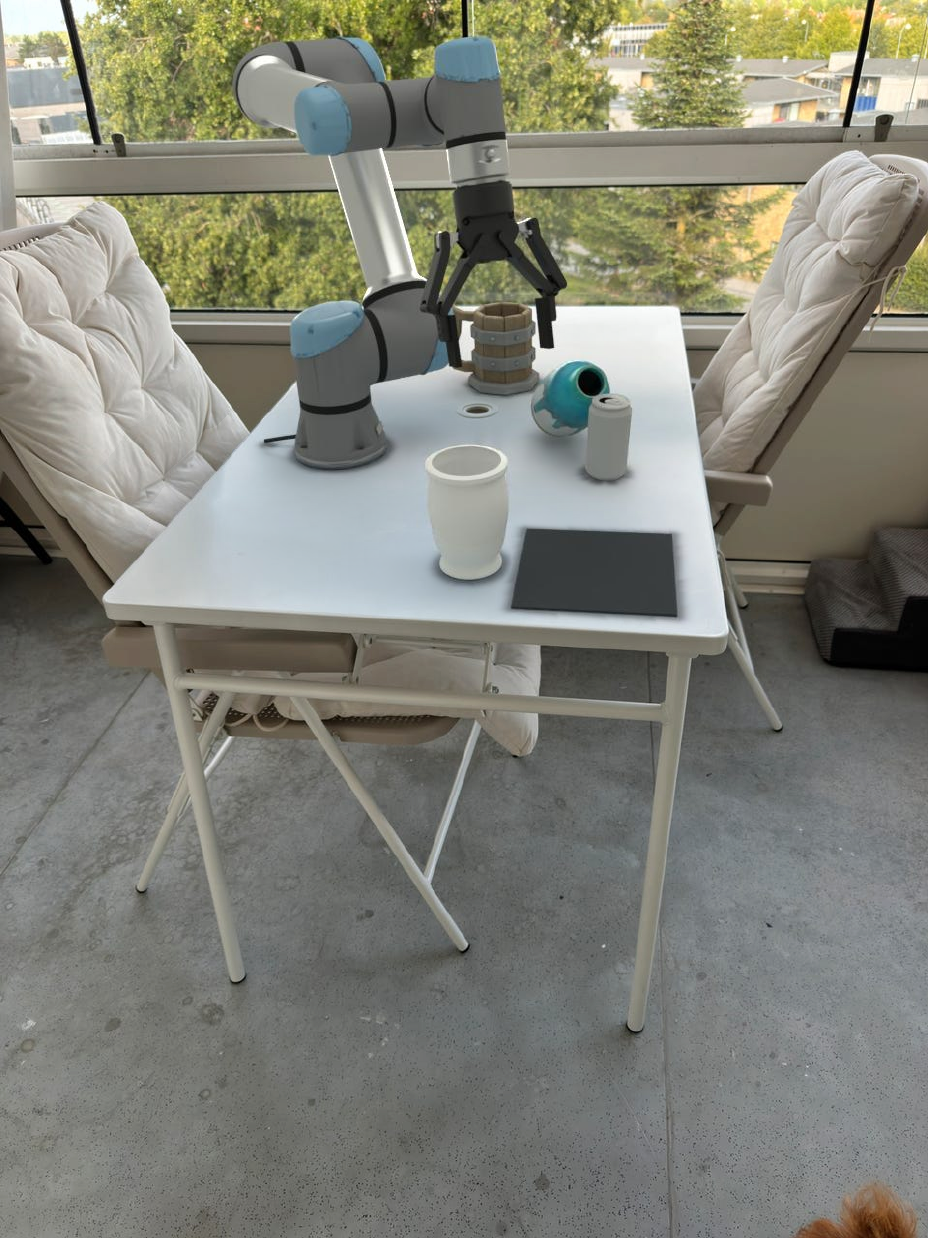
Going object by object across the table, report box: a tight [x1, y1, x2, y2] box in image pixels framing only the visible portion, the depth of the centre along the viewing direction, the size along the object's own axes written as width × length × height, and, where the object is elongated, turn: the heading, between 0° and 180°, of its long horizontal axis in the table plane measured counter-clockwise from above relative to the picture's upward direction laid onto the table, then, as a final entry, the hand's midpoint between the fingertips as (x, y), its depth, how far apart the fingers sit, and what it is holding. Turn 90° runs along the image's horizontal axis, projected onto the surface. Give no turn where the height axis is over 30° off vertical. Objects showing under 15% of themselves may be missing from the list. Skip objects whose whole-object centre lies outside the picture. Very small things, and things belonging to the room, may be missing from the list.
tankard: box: [451, 301, 540, 396], centre depth 177 cm, size 20×13×15 cm, turn 69°
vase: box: [530, 359, 611, 438], centre depth 149 cm, size 11×11×19 cm
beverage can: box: [584, 393, 633, 481], centre depth 141 cm, size 6×6×12 cm
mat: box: [510, 527, 678, 617], centre depth 121 cm, size 20×20×1 cm
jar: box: [424, 444, 510, 581], centre depth 120 cm, size 11×10×15 cm
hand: (502, 357), depth 124 cm, fingers open, 13 cm apart
